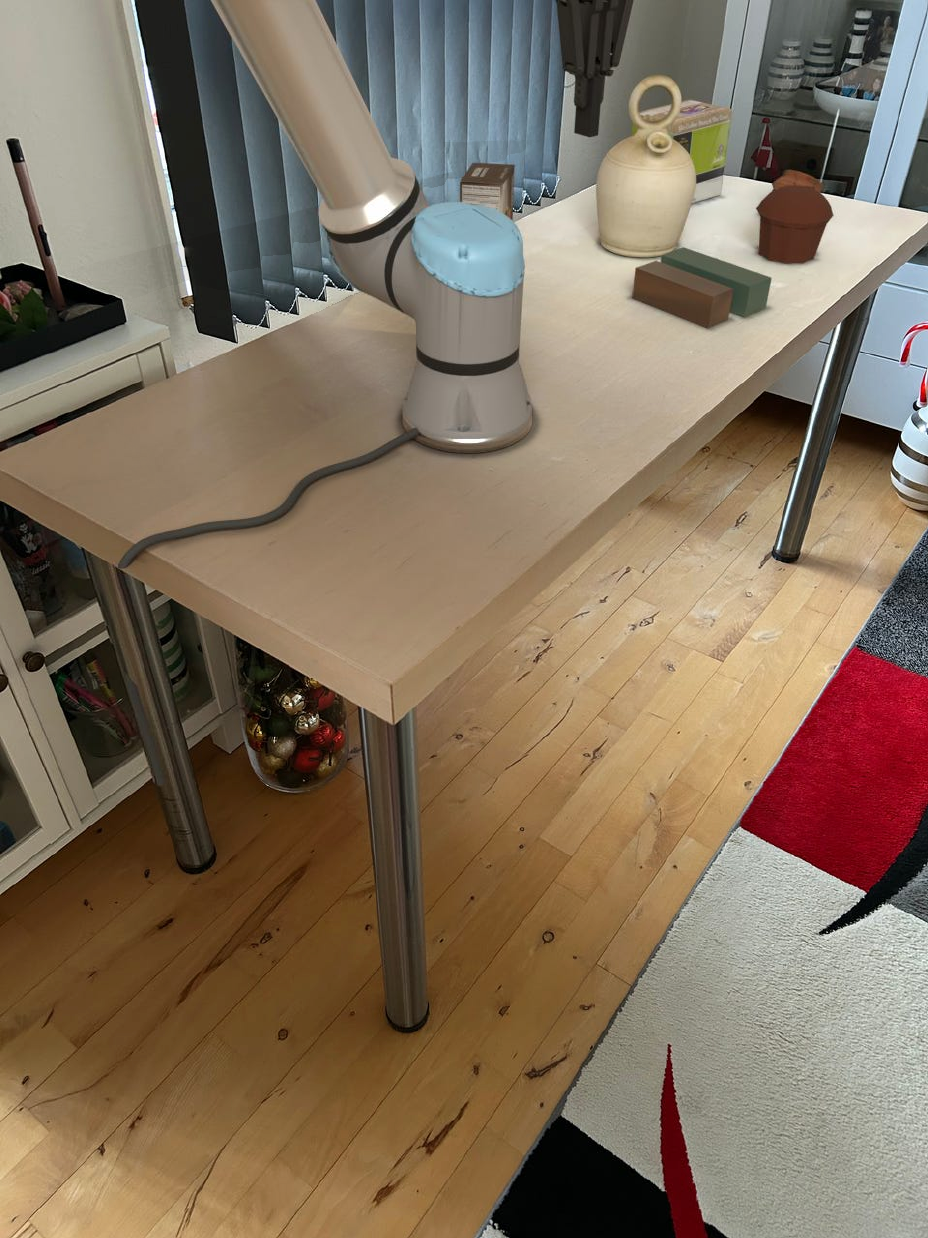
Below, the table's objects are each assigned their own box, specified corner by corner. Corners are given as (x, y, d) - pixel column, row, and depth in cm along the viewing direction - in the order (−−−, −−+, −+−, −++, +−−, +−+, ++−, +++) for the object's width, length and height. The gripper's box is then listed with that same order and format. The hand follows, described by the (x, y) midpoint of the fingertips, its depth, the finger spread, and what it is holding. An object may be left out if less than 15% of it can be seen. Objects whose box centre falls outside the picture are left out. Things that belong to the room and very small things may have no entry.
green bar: (744, 317, 142) (750, 286, 139) (657, 284, 151) (661, 254, 148) (765, 308, 144) (772, 277, 142) (679, 276, 154) (683, 246, 151)
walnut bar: (707, 328, 139) (713, 296, 136) (631, 298, 147) (635, 267, 144) (728, 319, 141) (733, 288, 138) (652, 290, 149) (656, 260, 147)
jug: (678, 267, 157) (703, 90, 141) (581, 255, 160) (595, 81, 144) (693, 235, 168) (718, 67, 152) (602, 224, 171) (617, 59, 155)
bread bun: (747, 211, 178) (770, 165, 176) (789, 234, 182) (811, 188, 179) (782, 215, 168) (806, 165, 165) (825, 238, 171) (850, 190, 168)
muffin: (824, 245, 164) (838, 181, 158) (823, 269, 156) (839, 203, 149) (750, 238, 167) (761, 174, 160) (745, 262, 158) (757, 196, 152)
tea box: (680, 183, 189) (691, 96, 180) (721, 196, 183) (735, 108, 174) (623, 199, 182) (632, 109, 173) (664, 213, 176) (676, 121, 166)
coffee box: (470, 270, 155) (472, 160, 145) (511, 274, 154) (515, 163, 144) (458, 293, 148) (459, 179, 138) (501, 297, 147) (505, 182, 137)
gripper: (587, -92, 105) (571, 150, 120) (668, -100, 111) (643, 131, 126) (537, -98, 109) (527, 136, 124) (618, -104, 115) (599, 119, 131)
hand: (586, 133), depth 125 cm, fingers closed
